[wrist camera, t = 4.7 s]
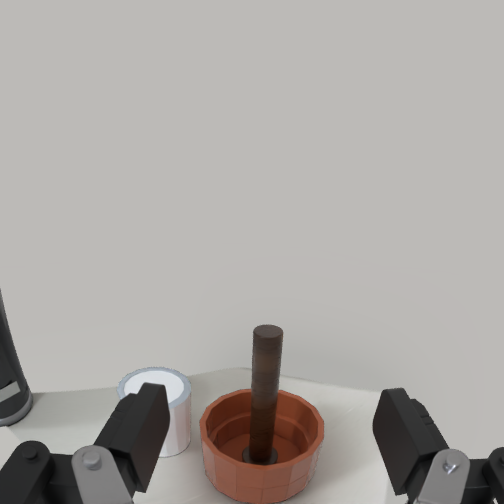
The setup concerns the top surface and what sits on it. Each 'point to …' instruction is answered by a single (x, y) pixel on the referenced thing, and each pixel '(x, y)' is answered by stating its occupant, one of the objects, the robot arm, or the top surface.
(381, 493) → the top surface
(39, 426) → the top surface
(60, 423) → the top surface
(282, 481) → the bowl
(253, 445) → the brown wooden pestle
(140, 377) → the white cylinder
